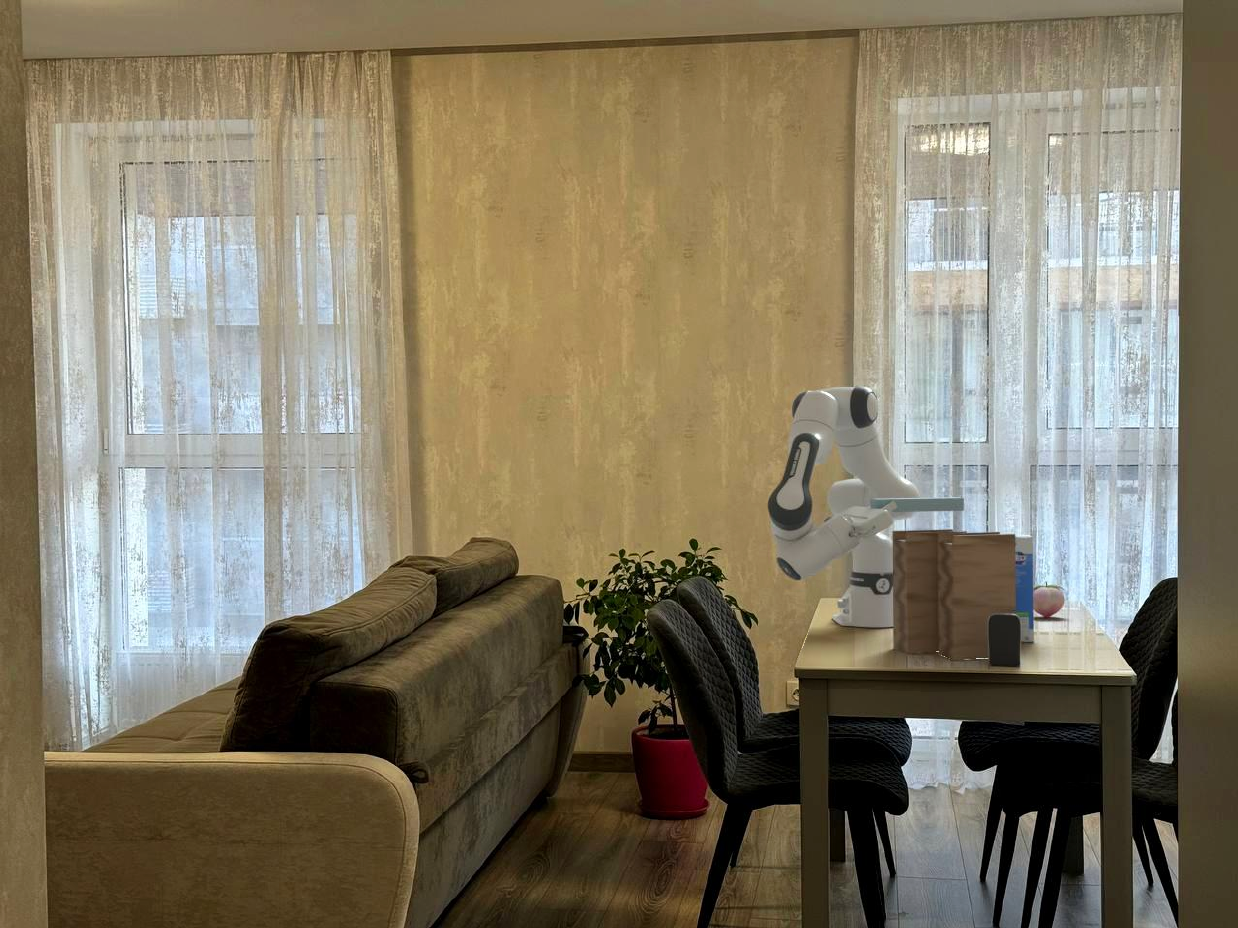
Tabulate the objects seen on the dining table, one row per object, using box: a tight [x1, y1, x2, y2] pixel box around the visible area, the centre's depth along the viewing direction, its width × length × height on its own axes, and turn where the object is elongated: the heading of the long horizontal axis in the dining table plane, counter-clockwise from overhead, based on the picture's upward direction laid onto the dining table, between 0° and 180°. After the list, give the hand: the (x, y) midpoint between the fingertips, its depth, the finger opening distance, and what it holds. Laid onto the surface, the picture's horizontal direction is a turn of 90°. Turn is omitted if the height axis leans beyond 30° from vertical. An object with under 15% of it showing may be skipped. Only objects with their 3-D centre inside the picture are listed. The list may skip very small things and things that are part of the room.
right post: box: [938, 531, 1016, 661], centre depth 290 cm, size 8×15×28 cm, turn 102°
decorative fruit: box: [1033, 581, 1066, 619], centre depth 351 cm, size 9×8×10 cm
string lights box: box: [1015, 534, 1035, 643], centre depth 313 cm, size 13×8×26 cm, turn 80°
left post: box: [892, 528, 968, 654], centre depth 300 cm, size 8×15×28 cm, turn 102°
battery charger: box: [988, 613, 1022, 667], centre depth 279 cm, size 7×4×11 cm, turn 77°
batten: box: [870, 497, 965, 513], centre depth 299 cm, size 4×22×3 cm, turn 102°
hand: (890, 503), depth 298 cm, fingers closed on batten, 3 cm apart
